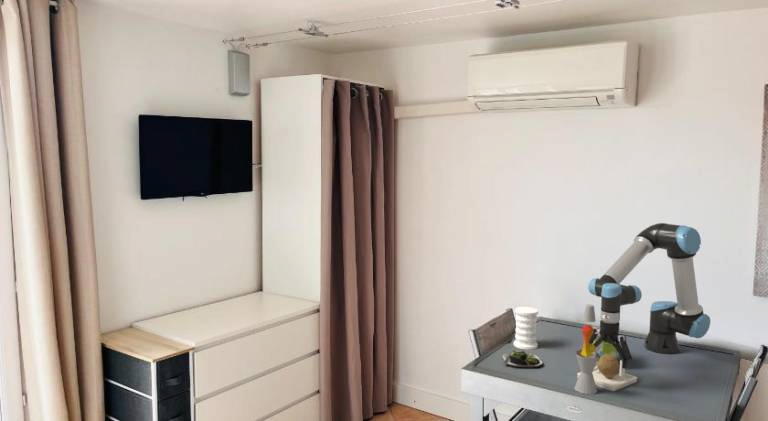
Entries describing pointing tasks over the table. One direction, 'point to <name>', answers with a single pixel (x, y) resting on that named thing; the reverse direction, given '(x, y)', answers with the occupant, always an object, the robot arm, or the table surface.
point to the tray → (612, 380)
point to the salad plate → (522, 360)
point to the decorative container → (526, 328)
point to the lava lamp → (587, 356)
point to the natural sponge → (608, 365)
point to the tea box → (604, 347)
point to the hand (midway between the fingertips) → (607, 370)
